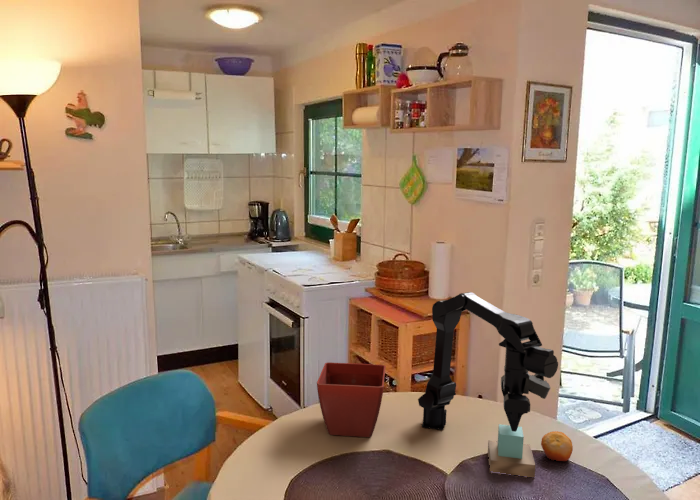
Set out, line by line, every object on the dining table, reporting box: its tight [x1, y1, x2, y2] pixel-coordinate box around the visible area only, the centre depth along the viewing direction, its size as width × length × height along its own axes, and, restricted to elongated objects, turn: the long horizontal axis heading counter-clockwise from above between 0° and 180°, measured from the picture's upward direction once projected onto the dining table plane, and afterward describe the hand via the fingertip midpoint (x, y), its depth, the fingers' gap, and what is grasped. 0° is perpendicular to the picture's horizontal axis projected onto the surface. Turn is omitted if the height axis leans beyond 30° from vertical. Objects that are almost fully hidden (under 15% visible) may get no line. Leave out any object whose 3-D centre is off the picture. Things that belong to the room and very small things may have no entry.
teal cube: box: [497, 424, 525, 459], centre depth 148 cm, size 6×6×6 cm
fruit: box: [540, 430, 574, 462], centre depth 153 cm, size 8×8×8 cm
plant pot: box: [316, 362, 387, 438], centre depth 168 cm, size 19×19×17 cm
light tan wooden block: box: [487, 440, 536, 478], centre depth 148 cm, size 11×11×4 cm
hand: (512, 423), depth 147 cm, fingers open, 9 cm apart
